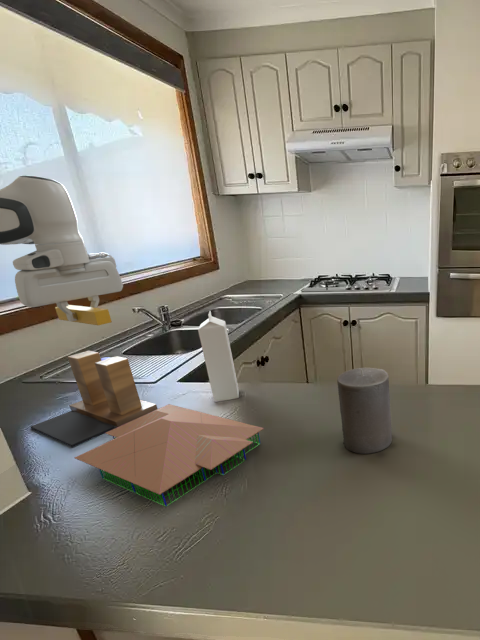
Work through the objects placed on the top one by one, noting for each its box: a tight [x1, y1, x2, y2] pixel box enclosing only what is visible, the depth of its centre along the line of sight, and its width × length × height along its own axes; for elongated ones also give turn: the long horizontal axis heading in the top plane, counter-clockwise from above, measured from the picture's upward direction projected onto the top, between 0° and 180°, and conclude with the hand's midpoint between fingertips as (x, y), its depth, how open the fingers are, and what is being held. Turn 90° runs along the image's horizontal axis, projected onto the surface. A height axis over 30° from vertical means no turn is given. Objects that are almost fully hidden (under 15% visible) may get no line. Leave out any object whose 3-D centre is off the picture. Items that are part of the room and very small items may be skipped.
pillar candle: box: [336, 367, 393, 455], centre depth 80 cm, size 10×10×15 cm
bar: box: [54, 304, 112, 326], centre depth 97 cm, size 18×3×3 cm, turn 59°
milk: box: [197, 310, 240, 403], centre depth 105 cm, size 6×6×22 cm
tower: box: [67, 350, 159, 428], centre depth 103 cm, size 22×10×14 cm, turn 59°
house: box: [74, 403, 265, 508], centre depth 81 cm, size 23×33×8 cm
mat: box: [29, 410, 116, 448], centre depth 97 cm, size 20×9×1 cm, turn 59°
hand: (83, 318), depth 97 cm, fingers closed on bar, 3 cm apart
